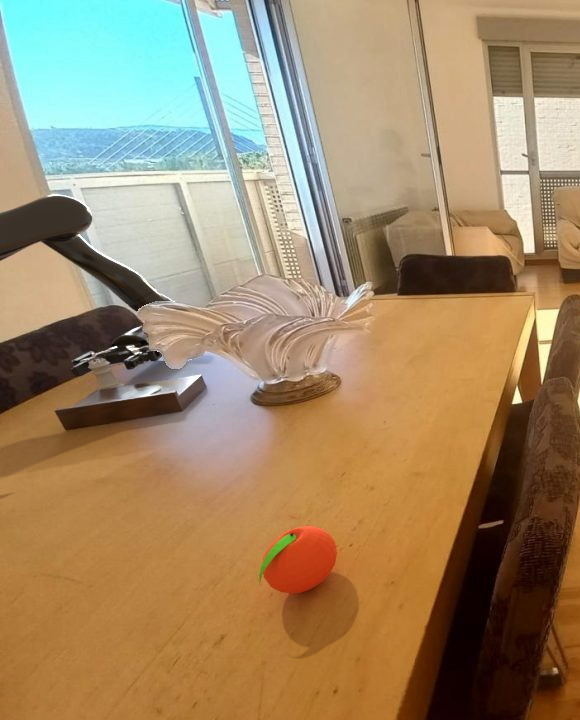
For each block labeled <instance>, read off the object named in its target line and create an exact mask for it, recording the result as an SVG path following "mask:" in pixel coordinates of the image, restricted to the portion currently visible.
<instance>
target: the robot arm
mask: <svg viewBox="0 0 580 720" xmlns="http://www.w3.org/2000/svg"><path fill="white" fill-rule="evenodd" d="M92 223H93V214H92V212H91V210H90V208H89V207H88V206H87V205H86V204H85V203H83V202H82V201H80V200H79V199H76V198H74V197H71V196H67V195H63V194H48V195H44V196H41V197H39V198H37V199H34V200H32V201H30V202H28V203H25V204H22V205H19V206H17V207H14V208H11V209H8V210H5V211H1V212H0V262H2V261H4V260H6V259H7V258H10V257H11V256H14V255H15V254H17V253H20V252H21V251H23V250H25V249H27V248H29V247H31V246H33V245H35V244H38V243H42V244H43V245H45V246H47V247H48V248H49V249H51V250H53V251H54V252H56V253H57V254H59V255H60V256H62V257H63V258H65V259H66V260H68V261H69V262H71V263H72V264H74V265H76V266H77V267H79V268H80V269H81V270H83V271H84V272H86V273H87V274H89V275H90V276H91V277H93V278H94V279H96V280H97V281H98V282H99V283H101V285H103V286H104V287H106V288H107V289H108V290H109V291H110V292H112V293H113V294H114V295H115V296H117V297H118V298H119V299H120V300H121V301H122V302H123V303H125V304H126V305H127V306H128V308H130V309H132V310H133V311H135V312H136V313H138V312H137V311H138V309H139V308H141V307H142V306H144V305H146V304H149V303H152V302H155V301H173V302H175V301H174V300H172V299H171V298H169V297H168V296H166V295H164V294H163V293H161V292H160V291H159V290H158V289H157V288H156V287H154V286H153V285H152V284H151V283H150V282H149V281H148V280H147V279H146V278H145V277H143V276H142V275H141V274H140V273H138V272H137V271H135V270H133V269H132V268H131V267H129V266H127V265H125V264H123V263H120V261H116V260H114V259H112V258H111V257H109V256H107V255H105V254H104V253H102V252H100V251H98V250H97V249H95V248H94V247H93V246H92V245H91V244H89V243H88V242H87V241H86V240H85V239H84V238H83V237H82V236H81V234H83V233H85V232H86V231H88V230H89V228H90V226H92ZM162 357H163V356H162V354H161V353H160V352H157V351H153V350H151V349H149V342H148V337H147V335H146V334H144V332H143V331H142V325H140V326H137V327H135V328H132V329H130V330H129V331H126V332H125V333H123V334H121V335H120V336H118V337H116V338H115V339H114V340H113V341H112V342H111V344H110V347H108V348H107V349H106V350H101V351H98V352H96V353H95V352H94V351H89V352H86V353H84V354H82V355H80V356H79V357H76V358H74V359H72V360H71V361H70V362H71V364H72V368H71V369H70V370H71V372H72V374H73V375H74V376H75V377H76V378H77V377H83V376H85V375H86V374H88V373H90V372H91V371H93V370H92V369H90V368H88V366H89V362H90V361H94V362H97V361H96V359H99V360H100V361H102V360H101V359H106V361H108V362H110V363H109V366H108V367H109V368H110V367H113V366H120V365H124V366H125V368H126V370H133V369H135V368H136V367H138V366H141V365H144V364H146V363H148V362H151V363H155V362H157V361H159V360H160V359H161V358H162Z"/></svg>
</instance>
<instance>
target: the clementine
mask: <svg viewBox="0 0 580 720" xmlns="http://www.w3.org/2000/svg"><path fill="white" fill-rule="evenodd" d="M337 555H338V550H337V544H336V541H335V539H334V538H333V536H332V535H331V534H330V533H328V532H327V531H326V530H325V529H323V528H320V527H317V526H312V525H306V526H299V527H295V528H292V529H290V530H287V531H285V532H283V533H281V534H280V535H279V536H278V537H277V538H276V539H275V540H273V541H272V542H271V543H270V545H269V546H268V547H267V549H266V551H265V553H264V556H263V559H262V563H261V566H260V570H259V575H258V581H259V582H258V583H259V585H258V586H260V585H261V581H262V578H264V579H265V581H266V582H267V584H268V585H269V586H270V588H272V589H274V590H275V591H277V592H280V593H284V594H293V595H295V594H301V593H303V592H307V591H310V590H312V589H314V588H315V587H317V586H319V585H320V584H321V583H323V582H324V581H325V580H326V579H327V578H328V576H329V575H330V574H331V572H332V570H333V568H334V567H335V565H336V560H337V557H338V556H337Z"/></svg>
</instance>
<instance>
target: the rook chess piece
mask: <svg viewBox="0 0 580 720" xmlns="http://www.w3.org/2000/svg"><path fill="white" fill-rule="evenodd" d="M101 360H102V361H100V360H99V359H96V361H97V362H94V361H90V362H89V366H88V368H90V369H92V370H91V371H93V372H92V374H93V375H94V376H95V378H96V381H97V390H100V389H107V388H114V387H121V386H126V385H125V383H122V382H121V381H119V380H118V379H117V378H116V377H115V375H114V373H112V368H110V367H108V366H109V363H110V362H108V361H106V359H101Z"/></svg>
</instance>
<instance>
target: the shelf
mask: <svg viewBox="0 0 580 720" xmlns="http://www.w3.org/2000/svg"><path fill="white" fill-rule="evenodd" d="M207 387H208V386H207V384H206V382H205V379H204V377H203V375H202V374H198V375H196V374H195V375H190V376H184V377H177V378H169V379H163V380H155V381H147V382H142V383H136V384H135V383H134V384H128V385H125V386H121V387H114V388H107V389H100V390H98V389H96V390H94V391H92V392H91V393H89V394H88V395H87V396H85V397H84V398H82V399H81V400H80V401H77V402H76V403H75V404H74V405H71V406H65V407H58V408H56V409H54V413H55V415H56V416H57V418H58V420H59V422H60V424H61V426H62V427H63V429H64V431H69V430H75V429H81V428H87V427H94V426H99V425H107V424H112V423H119V422H125V421H130V420H136V419H143V418H148V417H155V416H161V415H167V414H174V413H179V412H183V411H184V410H185V409H186V408H187V407H188V406H190V404H191V403H192V402H193V401H194V400H195V399H196V398H197V397H198V396H199V395H200V394H201V393H202V392H203V391H204V390H205V389H206V388H207Z"/></svg>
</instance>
